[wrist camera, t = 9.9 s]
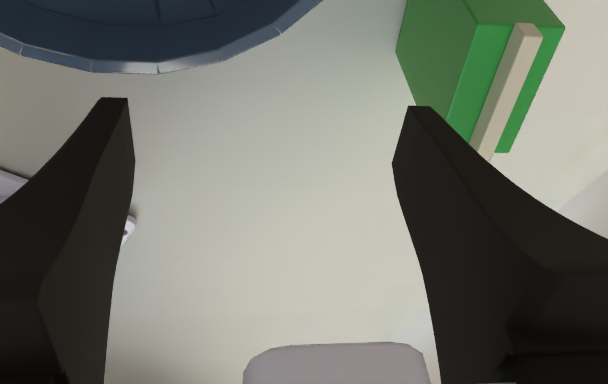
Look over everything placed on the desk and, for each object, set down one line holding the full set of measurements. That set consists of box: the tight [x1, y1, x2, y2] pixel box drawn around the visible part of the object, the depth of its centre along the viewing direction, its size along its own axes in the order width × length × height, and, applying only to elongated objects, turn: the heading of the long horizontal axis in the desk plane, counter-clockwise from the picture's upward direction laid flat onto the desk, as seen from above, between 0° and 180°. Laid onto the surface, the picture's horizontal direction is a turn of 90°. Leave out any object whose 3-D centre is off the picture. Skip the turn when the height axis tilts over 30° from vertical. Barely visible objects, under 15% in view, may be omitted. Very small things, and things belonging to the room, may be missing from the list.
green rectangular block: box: [396, 0, 565, 163], centre depth 21 cm, size 3×5×7 cm, turn 174°
